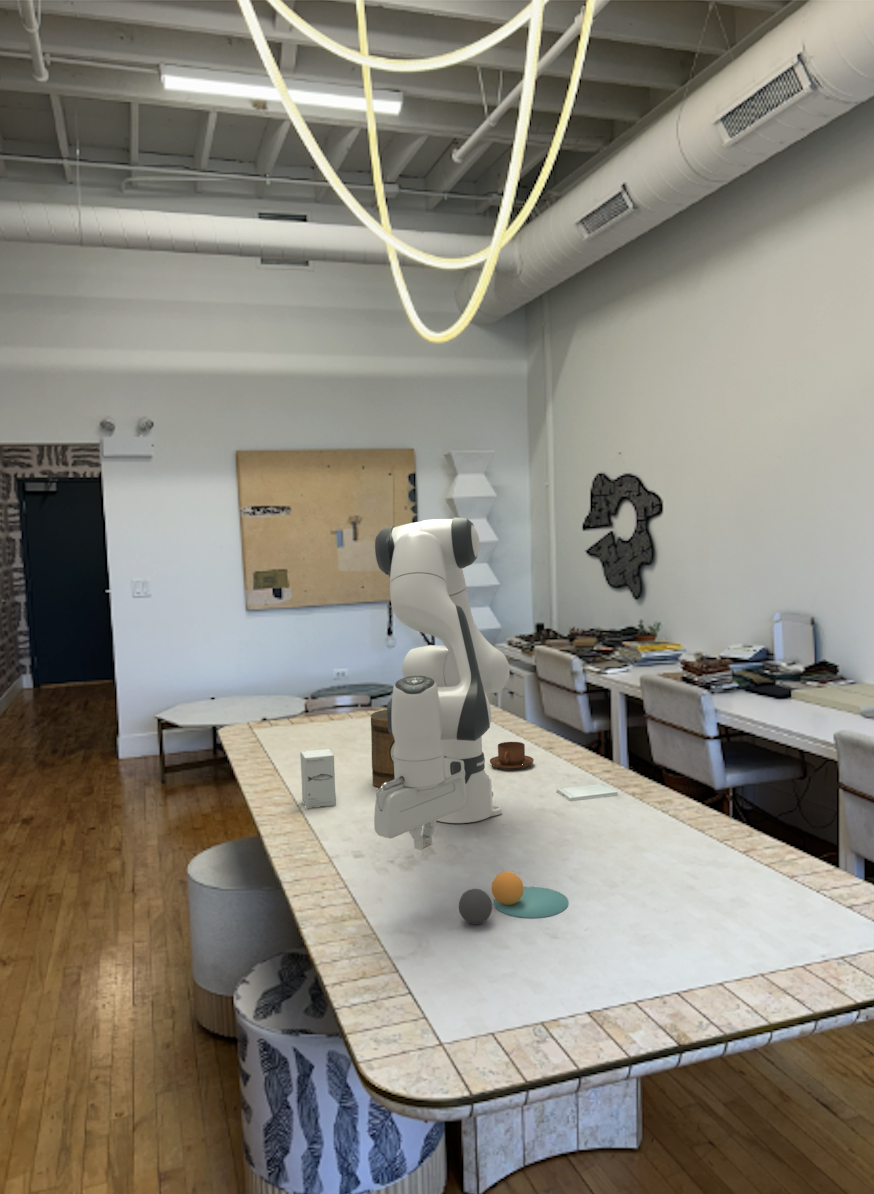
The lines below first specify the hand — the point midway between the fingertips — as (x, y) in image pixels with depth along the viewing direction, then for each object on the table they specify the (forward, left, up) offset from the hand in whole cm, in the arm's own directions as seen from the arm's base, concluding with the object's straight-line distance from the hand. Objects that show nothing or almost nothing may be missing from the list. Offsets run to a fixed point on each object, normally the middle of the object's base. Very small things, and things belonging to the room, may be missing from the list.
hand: (423, 847), depth 162 cm
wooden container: (-77, -14, -10) cm, 79 cm away
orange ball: (+1, +14, -7) cm, 16 cm away
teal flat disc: (+1, +18, -10) cm, 21 cm away
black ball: (+9, +9, -7) cm, 14 cm away
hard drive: (-64, +33, -11) cm, 73 cm away
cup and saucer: (-92, +15, -10) cm, 93 cm away
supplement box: (-59, -32, -10) cm, 68 cm away
